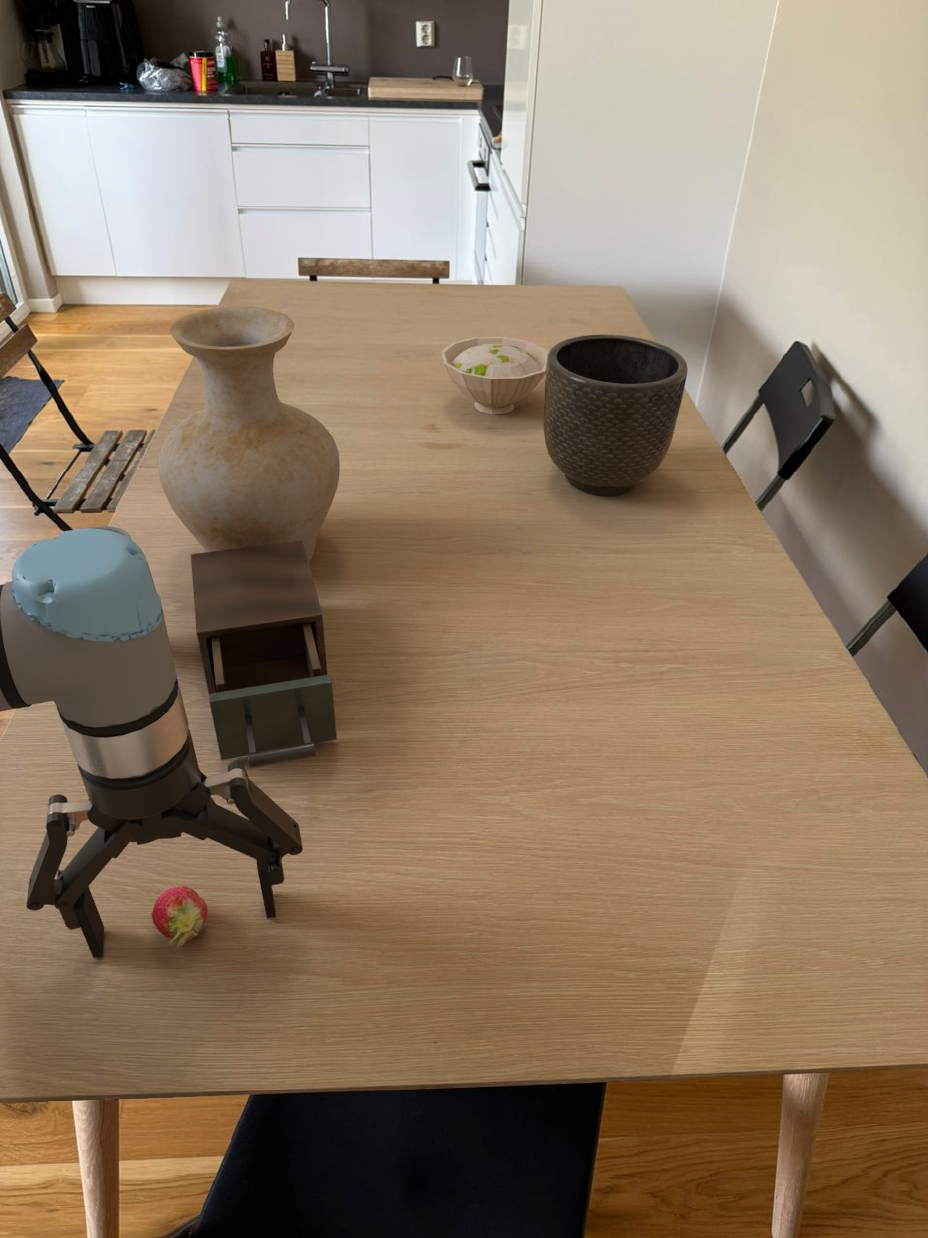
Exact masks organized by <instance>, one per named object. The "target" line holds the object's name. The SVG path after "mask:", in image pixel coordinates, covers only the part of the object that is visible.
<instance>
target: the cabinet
mask: <svg viewBox="0 0 928 1238" xmlns="http://www.w3.org/2000/svg"><path fill="white" fill-rule="evenodd" d="M190 567H191V580H192V592H193V593H192V594H193V605H194V617H195V631H196V637H197V642H198V647H199V652H200V657H201V662H202V667H203V672H204V677H205V682H206V687H207V692H208V695H209V694H211V693H217V688H216V680H215V670H214V660H213V650H212V639H211V637H212V636H219V635H226V634H233V633H239V632H246V631H253V630H260V629H267V628H273V627H280V626H287V625H294V624H301V623H307V622H310V625H311V629H312V633H313V637H314V641H315V646H316V650H317V654H318V658H319V662H320V666H321V674H322V676H323V675H329V674H328V665H327V654H326V642H325V628H324V620H323V619H324V618H323V617H324V616H323V612H322V608H321V604H320V600H319V597H318V593H317V589H316V586H315V581H314V578H313V574H312V570H311V566H310V561H309V562H308V558H307V554H306V550H305V546H304V543H303V540H301V541H293V542H285V543H277V544H269V545H261V546H253V547H245V548H237V549H229V550H221V551H213V552H205V551H204V552H199V553H191V554H190Z"/></svg>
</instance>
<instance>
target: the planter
mask: <svg viewBox="0 0 928 1238" xmlns="http://www.w3.org/2000/svg"><path fill="white" fill-rule="evenodd" d="M548 352H549V353H548V357H547V364H546V375H545V379H544V395H543V397H544V399H543V404H544V405H543V437H544V443H545V446H546V450H547V453H548V455H549V457H550V459H551V461H552V462H553V463H552V464H554V465H555V467H556V468H557V469H558V470H559V471H560V472H561V473H562V474H564V477H565V478H566V480H567V482H568V483H569V484H570V485H571V486H572V487H574V488H575V489H577V490H579V491H581V492H583V493H586V494H590V495H595V496H602V497H603V496H604V497H610V496H611V497H612V496H619V495H622V494H623V495H624V494H626V493H628V492H630V491H631V490H633V489H634V488H635V487H636V486H637V485H638V483H640V482H643V481H644V480H646V479H647V478H648V477H650V476H651V475H653V473H655V471H657V470H658V468H659V467H660V466H661V464H662V463H663V461H664V460H665V458H666V456H667V454H668V452H669V449H670V448H671V444H672V442H673V438H674V433H675V429H676V425H677V422H678V417H679V414H680V413H679V412H680V411H681V406H682V401H683V397H684V391H685V386H686V382H687V378H688V372H689V371H688V363H687V361H686V360H685V358H684V356H682V355H681V354H680V353H679V352H677V351H676V350H674V349H672V348H670V347H669V346H666V345H664V344H662V343H660V342H656V341H653V340H649V339H645V338H642V337H636V336H631V335H623V334H622V335H621V334H605V333H603V334H601V333H600V334H589V335H587V334H586V335H579V336H575V337H571V338H567V339H564V340H562V341H559V342H558V343H556V344H555V345H553V346H552V347H551V348H550V350H549V351H548Z"/></svg>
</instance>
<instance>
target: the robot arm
mask: <svg viewBox="0 0 928 1238" xmlns="http://www.w3.org/2000/svg"><path fill="white" fill-rule="evenodd" d="M153 579H154V578H153V576H152V572H151V569H150V565H149V562H148V559H147V557H146V554H145V553H144V551H143V550H142V548H141V547H140V546H139V545H138V543H136V542H135V541H134V540H133V539H132V538H131V539H130V538H128V537H126V536H124V535H122V534H119V533H116V532H113V531H109V530H103V529H87V528H78V529H71V530H65V531H62V532H60V533H59V534H58V536H56V537H53V538H44V539H40V540H38V541H35V542H34V543H32V544H31V545H30V546H28V547H27V548H25V549H24V550H23V551H22V552H21V554H19V556H18V557H17V558H16V560H15V561H14V562H13V566H12V569H11V580H10V581H6V582H5V583H4V584H0V713H1V712H6V711H11V710H18V709H19V710H20V709H23V708H29V707H32V705H38V704H43V703H48V702H54V704H55V706H56V710H57V712H58V715H59V718H60V720H61V723H62V726H63V728H64V731H65V735H66V739H67V741H68V744H69V747H70V749H71V752H72V756H73V758H74V760H75V763H76V764H77V769H78V772H79V775H80V777H81V780H82V783H83V786H84V788H85V791H86V794H87V797H88V800H80V801H78V800H77V801H70V802H69V800H68V798H67V797H66V796H65V795H64V794H53V795H52V796H50V797H49V798H48V805H47V815H46V825H45V828H46V832H45V835H44V838H43V841H42V843H41V846H40V849H39V852H38V854H37V857H36V859H35V862H34V865H33V868H32V871H31V873H30V875H29V880H28V889H27V897H26V906H25V907H26V909H27V910H29V911H32V912H33V911H39V910H41V909H43V908H44V907H45V906H54V908H55V909H56V910H58V911H59V914H60V916H61V918H62V920H63V922H64V925H65V927H66V928H67V929H68V930H70V931H72V930H77V929H80V930H81V932H82V934H83V937H84V939H85V941H86V944H87V947H88V948H89V951H90V953H91V956H92V958H93V959H98V958H100V957H104V954H105V952H104V951H105V929H106V928H105V924H104V922H103V919H102V917H101V915H100V911H99V910H98V907H97V904H96V902H95V899H94V896H93V893H92V892H91V889H90V885H91V884H92V883H93V881H95V879H96V878H97V877H98V876H99V875H100V873H101V872H102V871H103V870H104V868H105V867H106V866H107V865H108V864H109V863H110V861H111V860H112V859H117V858H118V857H119V856H120V855H121V854H122V852H123V851H124V850H125V849H126V848H127V846H129V844H130V843H136V845H137V846H140V845H145V844H150V843H152V842H155V841H157V840H167V839H169V840H170V839H174V838H179V837H182V834H183V833H184V834H187V835H189V836H191V837H193V838H195V839H198V840H200V841H205V840H206V839H209V840H211V841H214V842H216V843H218V844H220V845H223V846H225V847H227V848H230V849H232V850H234V851H236V852H238V853H241V854H243V855H245V856H248V857H250V858H252V859H254V860H256V861H255V862H256V870H257V875H258V880H259V884H260V885H259V886H260V890H261V894H262V901H263V905H264V909H265V910H264V911H265V915H266V916H265V917H266V919H267V920H269V919H272V918H277V913H276V905H275V899H274V898H275V897H274V890H273V886H276V885H280V884H283V883H284V881H285V873H284V866H283V860H282V859H283V858H284V857H285V856H286V855H291V856H298V855H299V854H301V853H302V852H303V850H304V848H303V847H304V846H303V841H302V836H301V830H300V829H301V828H300V825H299V823H298V822H297V821H296V820H295V819H294V818H293V817H291V816H290V815H289V814H288V812H286V811H285V810H284V809H283V808H282V807H281V806H280V805H278V804H277V802H275V801H274V800H273V799H272V798H270V796H268V795H267V794H266V793H265V791H263V790H262V789H261V788H259V786H257V785H256V783H254V782H253V781H252V780H251V779H250V778H249V777H250V776H249V775H248V772H247V769H246V767H245V764H244V763H243V762H242V761H239V760H234V761H231V762H229V763H228V765H227V771H226V772H223V773H219V774H215V775H212V776H207V775H206V774H204V773H203V772H202V770H200V767H199V762H198V759H197V753H196V749H195V745H194V741H193V737H192V736H193V735H192V733H191V730H190V728H189V720H188V716H187V711H186V707H185V704H184V699H183V695H182V691H181V688H180V687H181V686H180V684H179V679H178V676H177V670H176V667H175V661H174V656H173V652H172V648H171V643H170V638H169V633H168V629H167V624H166V619H165V614H164V610H163V604H162V599H161V596H160V594H159V593H158V591H157V589H156V586H155V582H154V580H153ZM212 796H219V797H221V798H222V799H223V800H225V801H226V804H227V805H230V806H233V805H235V807H236V809H237V810H238V811H239V812H240V814H242V815H243V816H242V815H240V814H238V813H236V812H234V811H232V810H230V809H227V808H225V807H224V806H221V805H219V804H217V803H216V802H215V800H214V798H213V797H212ZM87 820H88V821H89V822H90V824H91V825H94V826H96V827H97V829H95V831H94V832H93V833H92V834H91V836H90V837H89V839H87V841H86V842H85V843H84V845H82V847H81V848H80V849H79V850H78V852H77V853H76V854H75V856H74V857H73V858H72V859H71V860H70V861H69V863H68V864H67V865H66V866H65V868H63V869H62V870H61V869H59V868H60V866H61V863H62V860H63V858H64V855H65V854H66V853H65V852H66V850H67V847H68V841H69V840H68V839H69V837H70V838H71V837H73V836H75V833H76V831H77V830H79V829H80V826H81V824H82V823H83V822H85V821H87Z"/></svg>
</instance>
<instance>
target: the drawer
mask: <svg viewBox="0 0 928 1238" xmlns="http://www.w3.org/2000/svg"><path fill="white" fill-rule="evenodd" d="M211 639H212V650H213V660H214V670H215V680H216V688H217V693H211V694H209V693H208V699H209V700H208V701H209V706H210V711H211V716H212V717H211V718H212V721H213V726H214V731H215V736H216V737H215V738H216V741H217V746H218V751H219V756H220V760H221V761H225V760H229V759H235V758H241V757H247V762H248V768H249V769H250V770H252V769H257V768H262V767H268V766H274V765H278V764H284V763H290V762H296V761H302V760H306V759H312V758H315V757H316V756H317V754H316V747H315V745H316V744H319V743H325V742H331V741H336V740H338V736H337V735H338V734H337V724H336V712H335V701H334V689H333V681H332V676H331V674H328V675H323V676H322V674H321V666H320V662H319V658H318V654H317V650H316V646H315V641H314V637H313V633H312V629H311V625H310V622H307V623H301V624H294V625H287V626H280V627H273V628H267V629H260V630H253V631H246V632H239V633H233V634H226V635H219V636H212V637H211Z"/></svg>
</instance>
